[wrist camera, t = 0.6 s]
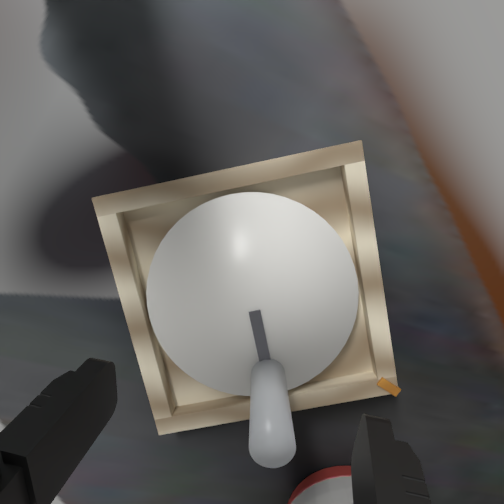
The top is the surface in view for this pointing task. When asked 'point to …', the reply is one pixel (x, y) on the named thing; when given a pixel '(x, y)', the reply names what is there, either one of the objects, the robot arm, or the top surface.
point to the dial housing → (266, 181)
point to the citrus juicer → (325, 487)
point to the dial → (254, 305)
